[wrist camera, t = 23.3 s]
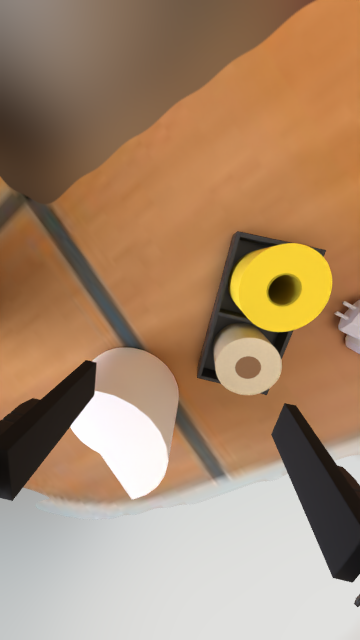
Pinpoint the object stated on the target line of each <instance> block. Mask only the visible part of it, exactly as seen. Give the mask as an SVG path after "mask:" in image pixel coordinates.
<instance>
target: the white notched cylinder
mask: <svg viewBox="0 0 360 640" xmlns="http://www.w3.org/2000/svg"><path fill="white" fill-rule="evenodd" d="M92 362H97V365H96V379H95V393H94V396H93V398H92V399H91V400H90V402H89V403H88V404H87V405H86V407H85V408H84V409H83V411H82V412H81V413H80V414H79V416H78V417H77V418H76V420H75V421H74V422H73V423H72V425H71V426H70V427H71V429H72V431H73V432H74V433H75V434H76V435H77V437H78V438H79V439H80V440H81V441H82V442H83V443H85V444H86V445H87V446H89V447H90V448H91V449H93V450H95V451H97V452H99V453H100V454H101V456H102V457H103V459H104V460H105V461H106V463H107V464H108V466H109V467H110V469H111V470H112V472H113V473H114V474H115V476H116V477H117V479H118V480H119V482H120V483H121V484H122V486H123V487H124V489H125V490H126V492H127V493H128V495H129V496H130V497H131V499H132V500H133V499H136V498H139V497H141V496H144V495H146V494H148V493H149V492H150V491H152V490H153V489H155V488H156V487H157V486H158V485H159V483H160V482H161V480H162V479H163V477H164V476H165V472H166V469H167V465H168V460H169V454H170V448H171V442H172V436H173V430H174V425H175V419H176V413H177V407H178V401H179V392H178V385H177V383H176V380H175V377H174V375H173V374H172V372H171V371H170V370H169V368H168V367H167V365H165V364H164V363H163V362H162V361H161V360H160V359H158V358H157V357H156V356H154V355H152V354H150V353H148V352H146V351H144V350H140V349H136V348H131V347H125V348H115V349H111V350H107V351H105V352H104V353H102V354H100V355H99V356H97V357H96V358H95V359H94V360H93V361H92Z"/></svg>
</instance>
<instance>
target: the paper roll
mask: <svg viewBox="0 0 360 640" xmlns="http://www.w3.org/2000/svg"><path fill="white" fill-rule="evenodd" d="M213 355H214V362H215V370H216V375H217V377H218V379H219V381H220V382H221V384H222V385H223V386H224V387H225V388H227V389H228V390H230V391H232V392H234V393H237V394H241V395H254V394H258V393H261V392H264V391H266V390H267V389H269V388H270V387H271V386H273V385H274V384H275V382H276V381H277V380H278V378H279V376H280V373H281V369H282V361H281V357H280V355H279V353H278V351H277V350H276V349H275V347H274V346H273V345H272V344H271V343H270V342H269V341H268V339H267V338H266V337H265V336H264V335H263V334H262V333H261V331H260V330H259V329H257V328H256V327H254V326H252V325H250V324H246V323H235V324H231V325H228V326H226V327H225V328H223V329H222V330H221V331H220V332H219V333H218V334H217V335H216V337H215V339H214V342H213Z"/></svg>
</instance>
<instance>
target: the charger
mask: <svg viewBox="0 0 360 640" xmlns="http://www.w3.org/2000/svg"><path fill="white" fill-rule="evenodd" d="M342 304H343V305H345V306H347V307H349V309H348V310H347V311H346V312H345V314H342V313H340V312H338V311H336V312H335V314H336V315H337V316H339V317H341V319H340V322H339V325H338V330H340V331H342V332H344V333H346V334H347V336H346V338H345V340H346V347H348V348H350V349H351V350H353V351H355V352H357V353H358V354H360V299H359V300H358V301H357V302H355V303H354V304H353V305H351V304H349V303H348V302H346V301H344V302H343V303H342Z"/></svg>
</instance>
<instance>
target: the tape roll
mask: <svg viewBox="0 0 360 640" xmlns="http://www.w3.org/2000/svg"><path fill="white" fill-rule="evenodd" d="M270 284H271V285H270ZM269 286H270V287H269ZM331 289H332V275H331V270H330V268H329V265H328V263H327V262H326V260H325V259H324V257H323V256H322V255H321V254H320V253H319V252H317V251H316V250H314V249H313V248H311V247H308V246H306V245H302V244H296V243H287V244H280V245H276V246H272V247H268V248H264V249H260V250H256V251H252V252H250V253H248V254H246V255H244V256H243V257H241V258H240V259H239V260H238V261H237V262H236V264H235V265H234V266H233V268H232V270H231V272H230V275H229V279H228V290H229V294H230V296H231V298H232V300H233V301H234V303H235V304H236V305H237V306H238V307H239V309H240V310H241V311H242V312H243V313H244V314H245V316H246V317H247V318H248V319H249V320H250V321H251V322H252V323H253V324H255V325H256V326H258V327H260V328H262V329H264V330H268V331H273V332H286V331H292V330H295V329H298V328H300V327H302V326H304V325H306V324H308V323H309V322H311V321H312V320H313V319H315V318H316V317H317V316H318V315H319V314H320V312H321V311H322V310H323V309H324V307H325V305H326V304H327V302H328V299H329V297H330V294H331Z"/></svg>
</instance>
